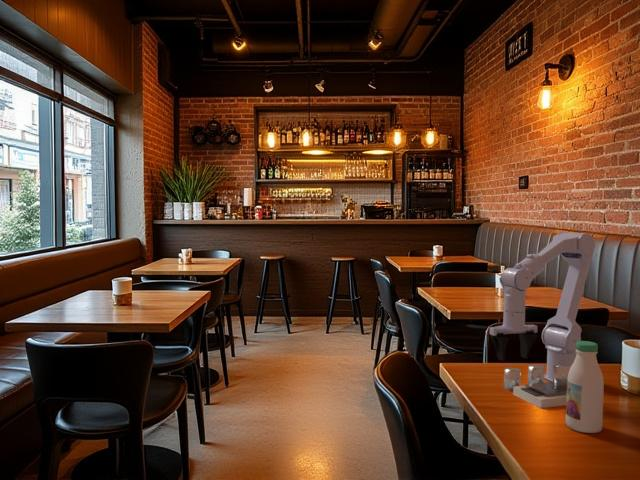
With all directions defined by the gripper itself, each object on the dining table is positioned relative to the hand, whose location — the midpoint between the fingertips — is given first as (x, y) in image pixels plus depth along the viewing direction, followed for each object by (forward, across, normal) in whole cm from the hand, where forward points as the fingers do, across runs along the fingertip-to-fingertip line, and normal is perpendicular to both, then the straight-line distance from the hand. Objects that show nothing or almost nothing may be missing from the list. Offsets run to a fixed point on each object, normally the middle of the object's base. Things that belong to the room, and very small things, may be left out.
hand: (512, 358), depth 160 cm
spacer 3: (+5, -8, +10) cm, 14 cm away
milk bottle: (+9, +2, +29) cm, 30 cm away
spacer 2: (+8, -8, 0) cm, 12 cm away
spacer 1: (+8, 0, 0) cm, 8 cm away
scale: (+8, -4, +10) cm, 14 cm away
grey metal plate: (+6, -5, +10) cm, 13 cm away
